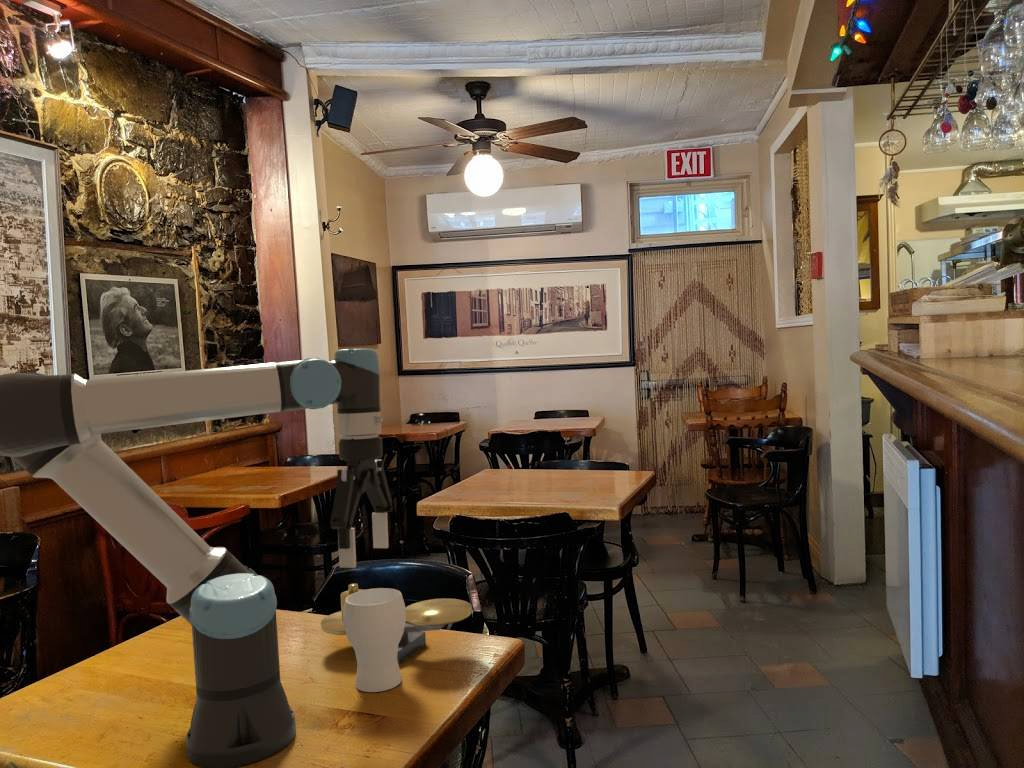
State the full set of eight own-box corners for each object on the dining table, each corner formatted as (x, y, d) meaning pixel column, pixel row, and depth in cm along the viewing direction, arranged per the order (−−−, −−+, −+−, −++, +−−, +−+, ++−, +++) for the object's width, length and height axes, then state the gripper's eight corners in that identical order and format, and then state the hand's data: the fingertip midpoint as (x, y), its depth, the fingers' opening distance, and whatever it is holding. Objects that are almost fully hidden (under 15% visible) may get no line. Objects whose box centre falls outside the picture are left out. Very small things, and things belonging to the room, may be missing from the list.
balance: (455, 674, 128) (451, 603, 128) (308, 657, 140) (304, 593, 140) (485, 646, 140) (481, 582, 140) (347, 633, 152) (344, 573, 152)
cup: (404, 695, 121) (398, 604, 121) (340, 698, 121) (334, 607, 121) (414, 668, 132) (409, 585, 131) (355, 671, 132) (350, 588, 132)
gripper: (347, 443, 116) (353, 576, 117) (406, 430, 141) (411, 541, 141) (304, 444, 118) (310, 575, 118) (370, 431, 142) (374, 540, 143)
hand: (365, 557), depth 130 cm, fingers open, 13 cm apart
